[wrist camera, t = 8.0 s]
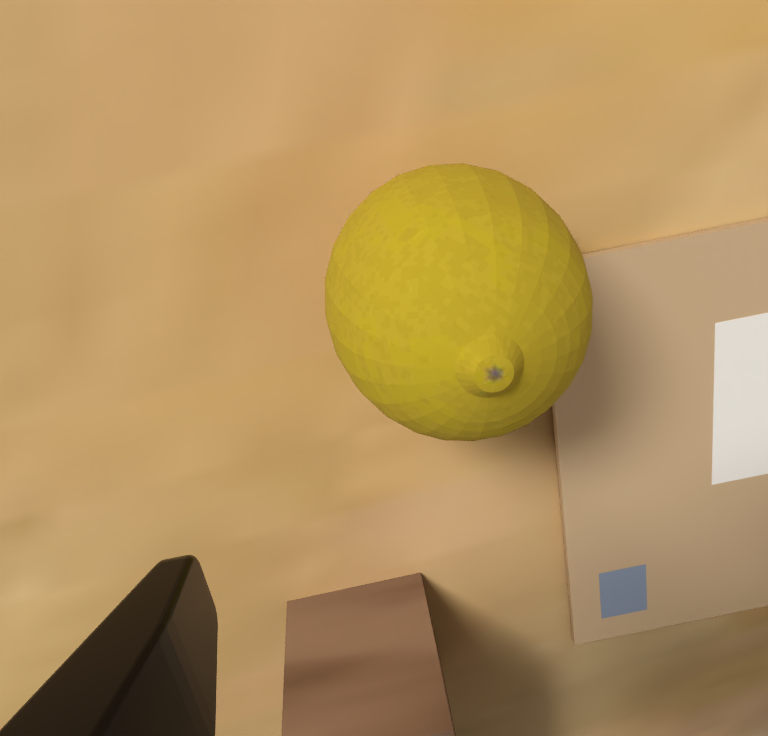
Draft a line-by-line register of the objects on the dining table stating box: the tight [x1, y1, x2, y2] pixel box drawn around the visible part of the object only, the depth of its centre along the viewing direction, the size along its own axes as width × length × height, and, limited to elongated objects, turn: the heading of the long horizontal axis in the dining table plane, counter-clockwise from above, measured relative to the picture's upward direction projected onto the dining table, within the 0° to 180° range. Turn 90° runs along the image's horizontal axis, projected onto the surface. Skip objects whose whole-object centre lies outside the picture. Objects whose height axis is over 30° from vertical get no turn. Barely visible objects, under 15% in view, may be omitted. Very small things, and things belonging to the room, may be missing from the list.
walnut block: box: [282, 573, 456, 736], centre depth 22 cm, size 4×4×6 cm
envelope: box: [552, 218, 768, 645], centre depth 23 cm, size 14×10×1 cm
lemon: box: [325, 164, 593, 441], centre depth 16 cm, size 6×6×8 cm
